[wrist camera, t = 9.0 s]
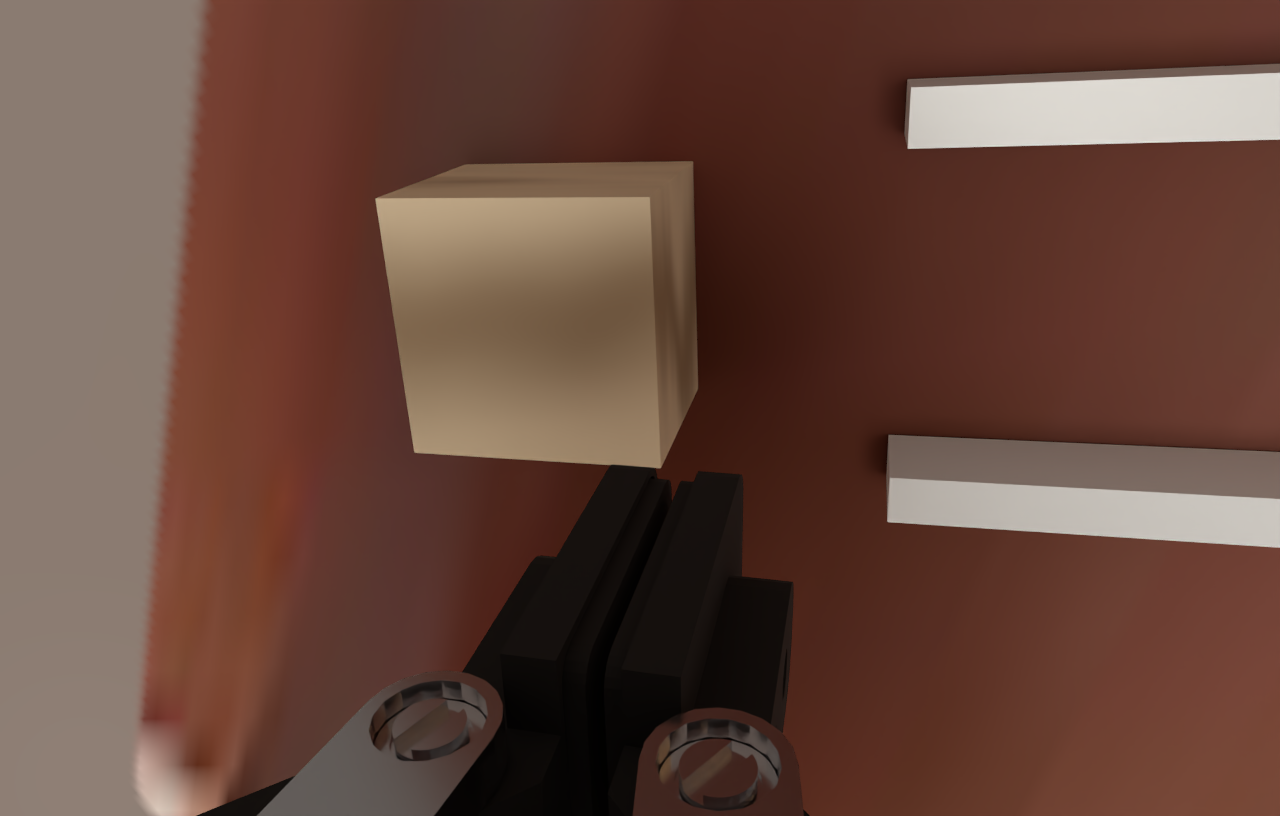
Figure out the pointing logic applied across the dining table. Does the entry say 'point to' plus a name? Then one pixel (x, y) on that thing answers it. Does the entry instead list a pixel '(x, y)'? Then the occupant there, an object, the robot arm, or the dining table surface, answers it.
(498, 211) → the maple block
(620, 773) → the robot arm
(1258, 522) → the channel
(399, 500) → the dining table surface
